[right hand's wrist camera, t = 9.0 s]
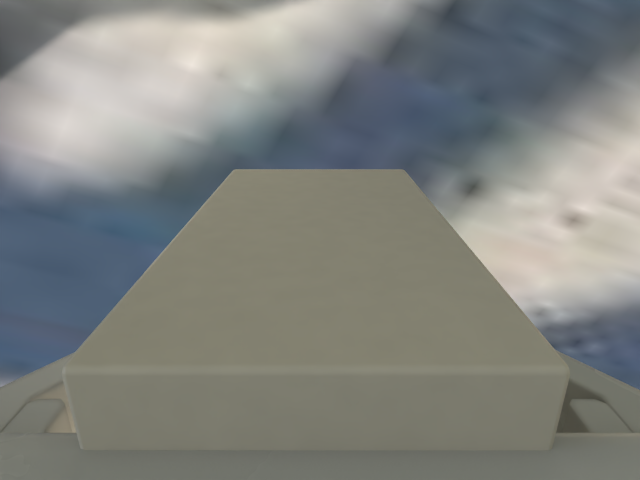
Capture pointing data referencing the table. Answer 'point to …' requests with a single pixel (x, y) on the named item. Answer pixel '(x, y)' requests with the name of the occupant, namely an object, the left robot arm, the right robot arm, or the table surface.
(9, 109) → the table surface
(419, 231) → the brick
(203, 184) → the table surface
